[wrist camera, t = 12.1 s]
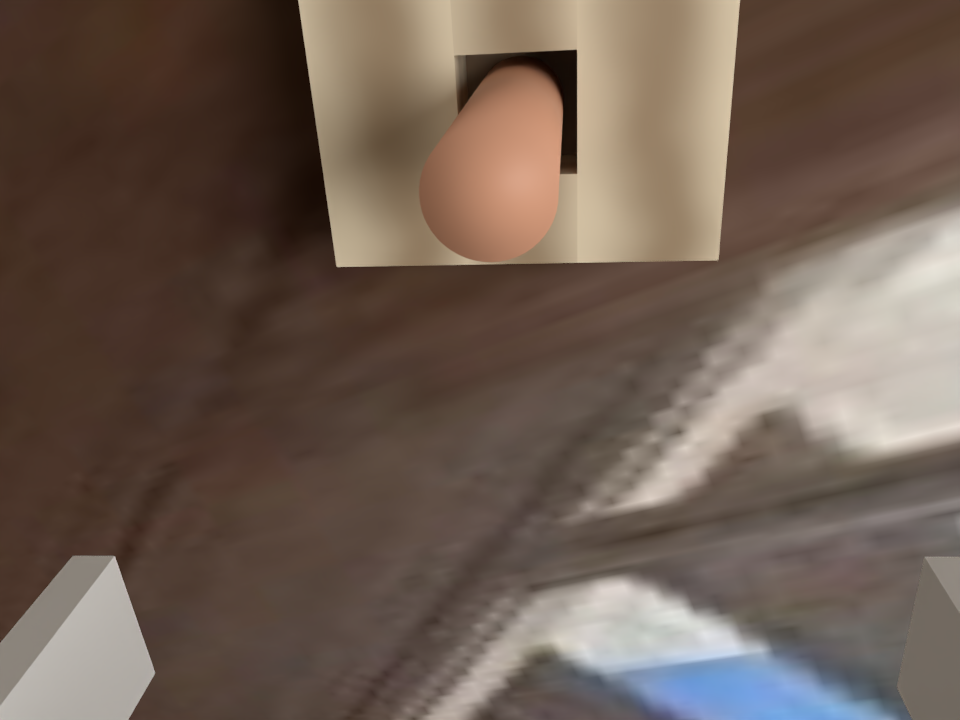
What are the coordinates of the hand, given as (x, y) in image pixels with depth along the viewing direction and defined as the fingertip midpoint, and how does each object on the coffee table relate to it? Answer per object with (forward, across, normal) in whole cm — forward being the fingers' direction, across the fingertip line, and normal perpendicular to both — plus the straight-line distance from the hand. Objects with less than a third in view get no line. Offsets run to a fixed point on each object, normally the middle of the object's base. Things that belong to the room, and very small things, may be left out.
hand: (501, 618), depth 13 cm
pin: (+25, 0, +5) cm, 26 cm away
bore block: (+26, 0, +5) cm, 27 cm away
